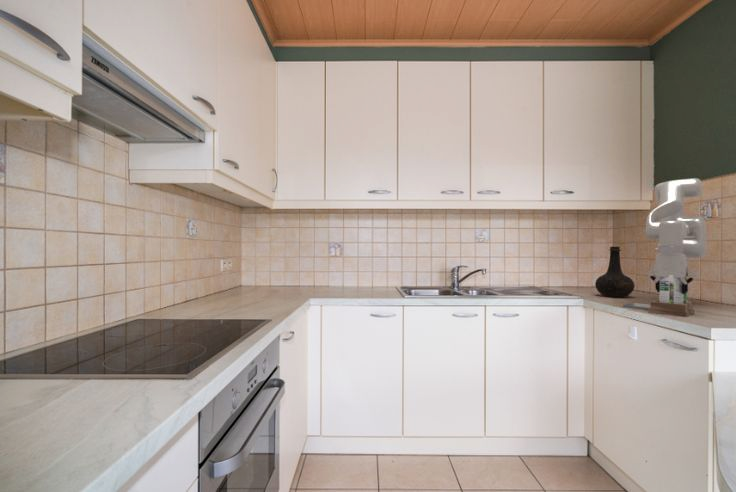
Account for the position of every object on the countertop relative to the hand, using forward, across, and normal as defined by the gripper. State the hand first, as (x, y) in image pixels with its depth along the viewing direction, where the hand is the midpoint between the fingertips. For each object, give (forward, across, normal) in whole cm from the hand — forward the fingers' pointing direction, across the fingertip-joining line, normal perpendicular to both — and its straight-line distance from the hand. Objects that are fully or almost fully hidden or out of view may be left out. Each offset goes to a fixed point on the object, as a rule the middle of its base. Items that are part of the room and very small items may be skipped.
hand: (671, 292), depth 147 cm
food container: (+9, -2, +22) cm, 24 cm away
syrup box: (+7, 0, -1) cm, 7 cm away
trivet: (+9, -12, +7) cm, 17 cm away
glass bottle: (+9, -34, +38) cm, 52 cm away
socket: (+8, 0, -1) cm, 8 cm away
